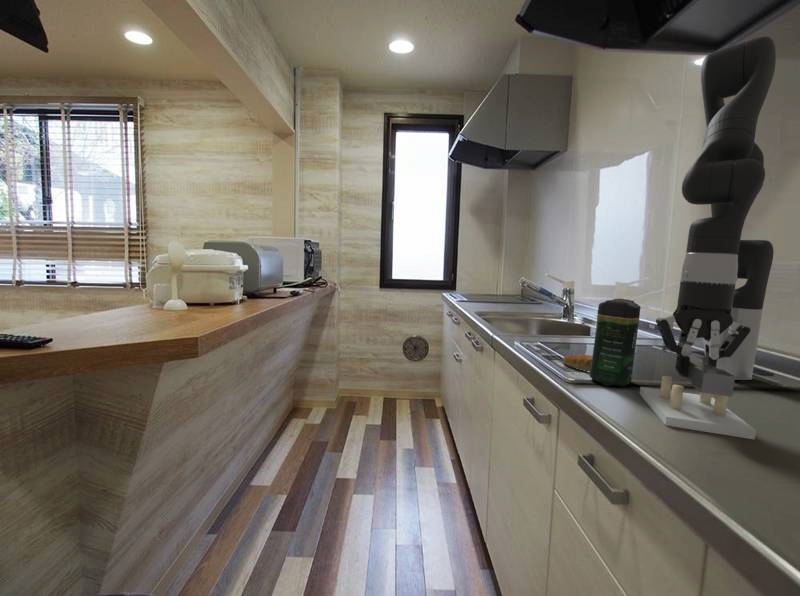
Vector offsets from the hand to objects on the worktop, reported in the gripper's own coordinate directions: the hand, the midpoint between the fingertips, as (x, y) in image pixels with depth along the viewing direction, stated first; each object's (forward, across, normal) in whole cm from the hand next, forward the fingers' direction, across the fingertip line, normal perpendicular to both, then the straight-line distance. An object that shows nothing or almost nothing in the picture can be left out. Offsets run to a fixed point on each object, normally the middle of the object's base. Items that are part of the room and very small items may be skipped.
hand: (693, 376), depth 69 cm
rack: (+7, 0, 0) cm, 7 cm away
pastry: (+7, +14, -23) cm, 28 cm away
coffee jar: (+7, +10, -15) cm, 19 cm away
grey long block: (0, 0, +2) cm, 2 cm away
